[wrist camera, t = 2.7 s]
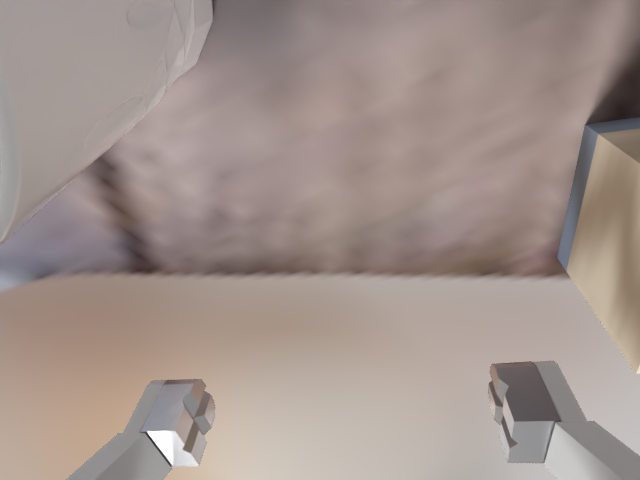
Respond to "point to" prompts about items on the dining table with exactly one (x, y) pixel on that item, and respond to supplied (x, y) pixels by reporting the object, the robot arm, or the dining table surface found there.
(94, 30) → the white cup
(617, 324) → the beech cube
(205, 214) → the dining table surface
